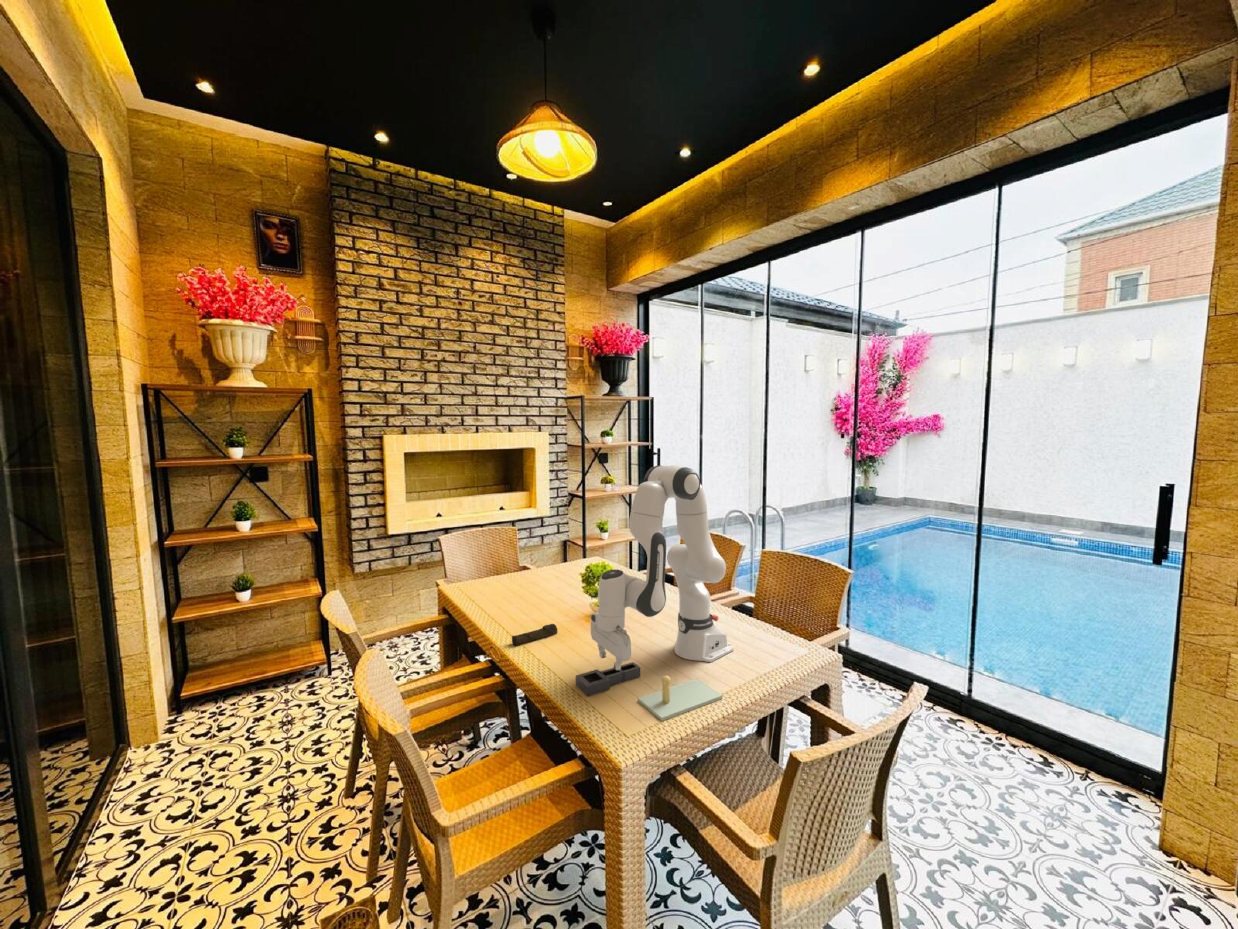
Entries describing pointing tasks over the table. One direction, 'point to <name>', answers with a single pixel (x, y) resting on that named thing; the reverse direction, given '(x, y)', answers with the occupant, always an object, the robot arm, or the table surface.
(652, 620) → the table surface
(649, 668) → the table surface
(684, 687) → the keeper board
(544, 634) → the hand tool
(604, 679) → the grey hollow frame
